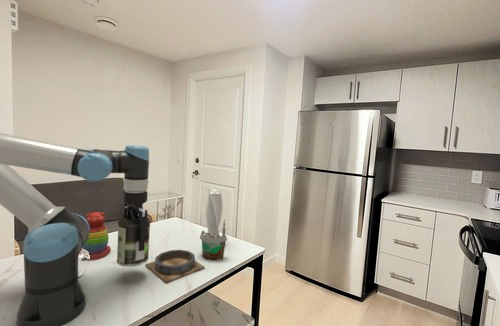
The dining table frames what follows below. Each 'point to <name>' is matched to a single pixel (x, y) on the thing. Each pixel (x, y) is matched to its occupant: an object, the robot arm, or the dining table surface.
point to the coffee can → (129, 243)
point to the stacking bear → (97, 236)
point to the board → (171, 263)
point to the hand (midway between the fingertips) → (133, 253)
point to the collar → (176, 268)
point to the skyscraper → (214, 212)
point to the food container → (212, 246)
